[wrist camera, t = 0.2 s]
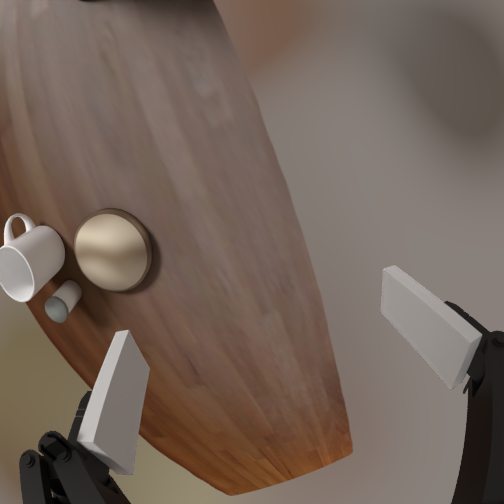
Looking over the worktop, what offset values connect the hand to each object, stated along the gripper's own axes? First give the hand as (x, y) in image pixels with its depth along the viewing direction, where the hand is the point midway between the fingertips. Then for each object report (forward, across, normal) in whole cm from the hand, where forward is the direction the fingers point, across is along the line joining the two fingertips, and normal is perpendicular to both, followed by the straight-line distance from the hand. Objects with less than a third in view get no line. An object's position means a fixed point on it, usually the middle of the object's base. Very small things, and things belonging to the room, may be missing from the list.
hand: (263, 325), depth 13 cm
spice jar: (+28, -30, -7) cm, 41 cm away
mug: (+28, -32, +3) cm, 43 cm away
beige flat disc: (+28, -19, -2) cm, 34 cm away
